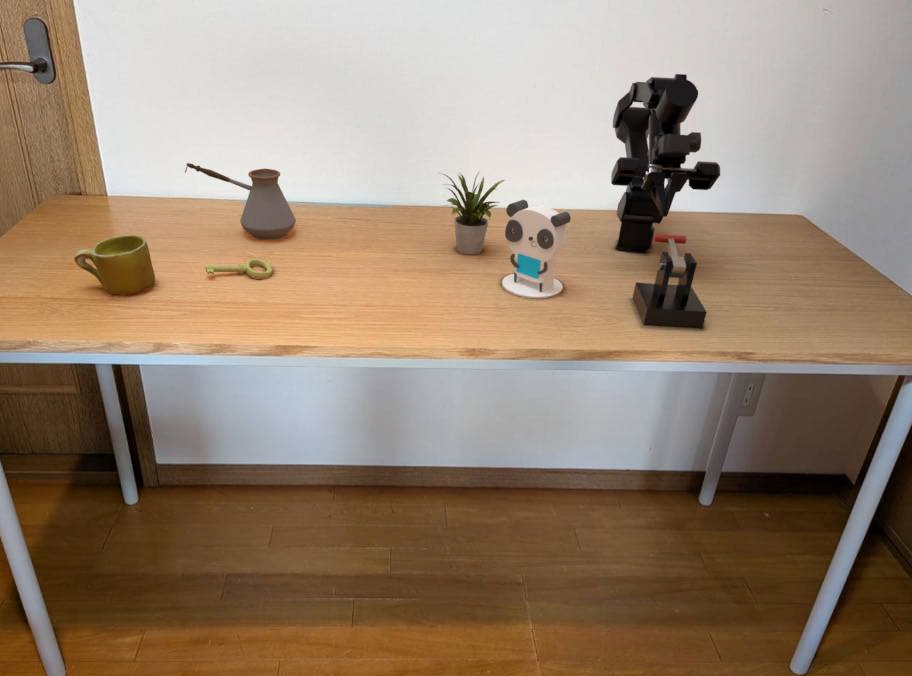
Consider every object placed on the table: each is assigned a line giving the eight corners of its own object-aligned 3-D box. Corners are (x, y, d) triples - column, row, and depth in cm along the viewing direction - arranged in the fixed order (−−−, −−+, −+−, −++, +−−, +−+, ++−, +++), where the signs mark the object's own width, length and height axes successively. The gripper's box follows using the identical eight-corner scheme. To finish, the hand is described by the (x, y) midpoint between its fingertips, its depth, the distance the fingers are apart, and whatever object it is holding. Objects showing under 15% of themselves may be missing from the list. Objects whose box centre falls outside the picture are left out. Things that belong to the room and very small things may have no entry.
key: (202, 276, 139) (201, 265, 138) (263, 263, 145) (262, 252, 144) (218, 289, 134) (217, 278, 133) (280, 275, 141) (279, 265, 140)
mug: (170, 264, 138) (145, 220, 130) (157, 302, 132) (130, 258, 124) (108, 272, 140) (80, 230, 132) (93, 310, 133) (63, 268, 126)
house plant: (418, 254, 152) (420, 174, 143) (442, 233, 163) (446, 157, 154) (484, 267, 148) (491, 185, 139) (505, 244, 159) (512, 167, 150)
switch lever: (652, 241, 134) (655, 230, 133) (682, 242, 134) (686, 231, 133) (660, 276, 128) (663, 265, 126) (692, 278, 128) (696, 267, 126)
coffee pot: (296, 224, 164) (291, 154, 156) (296, 243, 155) (292, 170, 147) (196, 226, 161) (186, 155, 153) (190, 245, 152) (180, 171, 144)
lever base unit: (632, 300, 137) (643, 243, 132) (686, 303, 137) (700, 247, 131) (643, 326, 128) (656, 267, 122) (701, 330, 128) (717, 271, 122)
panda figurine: (487, 283, 141) (494, 205, 133) (523, 268, 148) (531, 193, 140) (538, 303, 134) (549, 223, 126) (574, 286, 141) (586, 209, 133)
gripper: (625, 111, 133) (624, 191, 129) (731, 116, 132) (733, 196, 129) (611, 145, 144) (610, 220, 140) (708, 151, 143) (709, 226, 140)
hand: (664, 215), depth 137 cm, fingers closed
